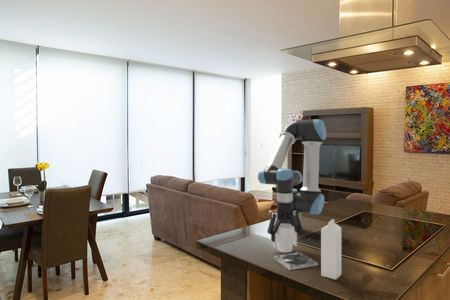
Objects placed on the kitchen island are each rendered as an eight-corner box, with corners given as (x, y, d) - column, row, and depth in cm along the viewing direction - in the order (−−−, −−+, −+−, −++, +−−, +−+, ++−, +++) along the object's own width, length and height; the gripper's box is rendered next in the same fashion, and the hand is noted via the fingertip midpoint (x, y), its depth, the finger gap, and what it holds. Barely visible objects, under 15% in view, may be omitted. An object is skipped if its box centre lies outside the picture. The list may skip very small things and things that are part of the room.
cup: (280, 254, 150) (280, 229, 150) (272, 248, 159) (272, 224, 159) (298, 252, 153) (297, 227, 152) (289, 246, 162) (289, 222, 161)
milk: (341, 274, 128) (342, 220, 127) (335, 280, 123) (336, 223, 122) (326, 270, 132) (327, 217, 131) (320, 275, 127) (320, 220, 126)
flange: (300, 254, 151) (300, 250, 151) (318, 265, 137) (318, 261, 137) (273, 258, 146) (273, 255, 146) (289, 270, 133) (289, 266, 133)
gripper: (301, 197, 162) (301, 241, 163) (259, 201, 155) (260, 246, 156) (309, 200, 155) (309, 245, 156) (266, 204, 148) (267, 252, 149)
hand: (285, 246), depth 156 cm, fingers open, 10 cm apart
